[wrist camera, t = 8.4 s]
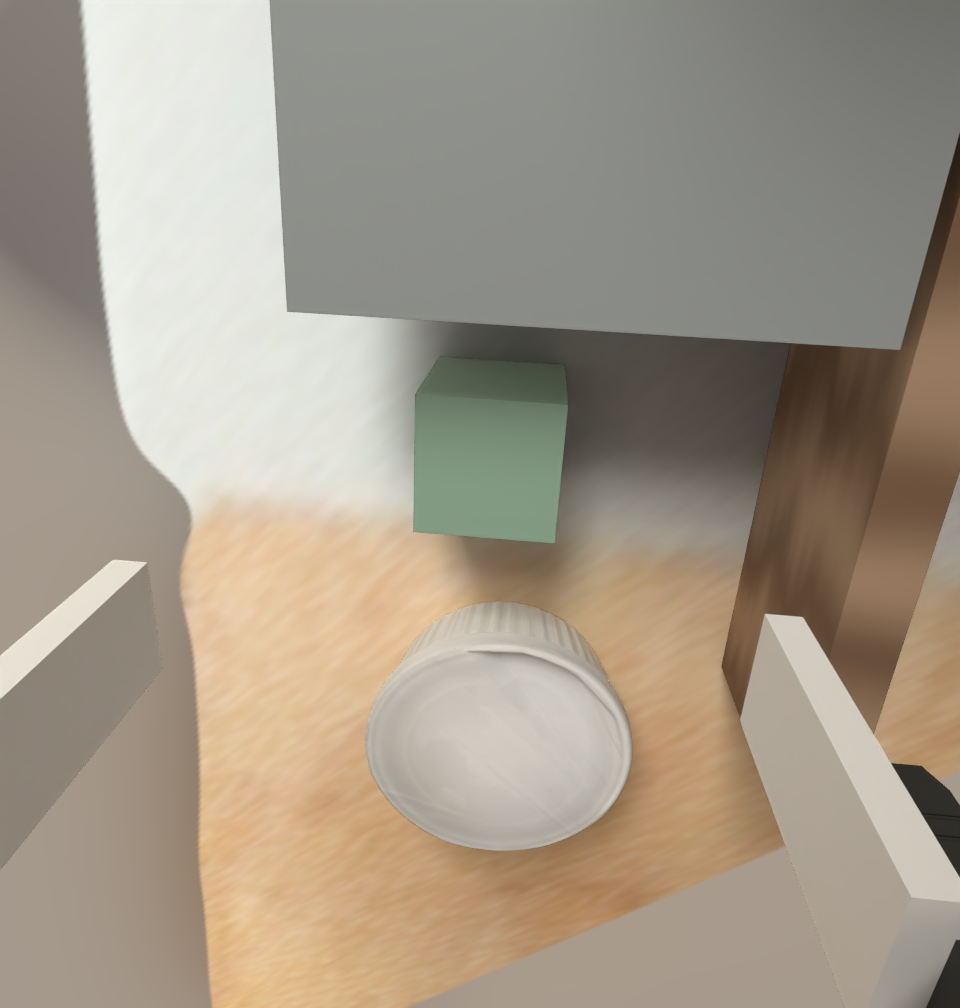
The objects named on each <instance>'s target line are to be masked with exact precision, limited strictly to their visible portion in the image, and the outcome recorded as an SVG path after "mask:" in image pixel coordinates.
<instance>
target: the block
mask: <svg viewBox="0 0 960 1008" xmlns="http://www.w3.org/2000/svg"><path fill="white" fill-rule="evenodd" d="M567 413H568V397H567V386H566V374H565V365H561V364H546V363H531V362H516V361H501V360H486V359H471V358H456V357H441V356H440V357H439V359H438V360H437V362H436V363H435V365H434V366H433V368H432V369H431V371H430V372H429V374H428V376H427V377H426V379H425V380H424V382H423V383H422V385H421V386H420V388H419V389H418V391H417V392H416V394H415V450H414V524H413V532H420V533H432V534H445V535H457V536H469V537H482V538H494V539H506V540H519V541H531V542H543V543H555V534H556V524H557V514H558V504H559V494H560V483H561V473H562V463H563V453H564V443H565V433H566V423H567Z"/></svg>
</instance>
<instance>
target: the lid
mask: <svg viewBox="0 0 960 1008" xmlns="http://www.w3.org/2000/svg"><path fill="white" fill-rule="evenodd" d="M270 16H271V34H272V51H273V69H274V87H275V105H276V122H277V140H278V158H279V175H280V193H281V211H282V228H283V246H284V264H285V281H286V299H287V312H301V313H317V314H333V315H349V316H365V317H381V318H397V319H413V320H429V321H445V322H461V323H477V324H493V325H509V326H525V327H541V328H557V329H573V330H589V331H605V332H621V333H637V334H653V335H669V336H685V337H701V338H717V339H733V340H749V341H765V342H781V343H797V344H813V345H829V346H845V347H861V348H877V349H893V350H900V349H901V345H902V341H903V338H904V334H905V330H906V327H907V323H908V319H909V316H910V312H911V308H912V305H913V301H914V297H915V294H916V290H917V287H918V283H919V279H920V276H921V272H922V268H923V265H924V261H925V257H926V254H927V250H928V246H929V243H930V239H931V235H932V232H933V228H934V225H935V221H936V217H937V214H938V210H939V206H940V203H941V199H942V195H943V192H944V188H945V184H946V181H947V177H948V173H949V170H950V166H951V162H952V159H953V155H954V152H955V148H956V144H957V141H958V137H959V133H960V0H270Z"/></svg>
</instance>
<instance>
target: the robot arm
mask: <svg viewBox="0 0 960 1008" xmlns="http://www.w3.org/2000/svg"><path fill="white" fill-rule="evenodd" d="M162 669H163V666H162V658H161V651H160V645H159V638H158V631H157V625H156V618H155V612H154V604H153V598H152V590H151V584H150V577H149V571H148V563H146V562H135V561H122V560H112V561H111V562H110V563H109V564H107V565H106V566H105V567H104V568H103V569H102V570H100V571H99V572H98V573H97V574H96V575H95V576H93V577H92V578H91V579H90V580H89V581H87V582H86V583H85V584H84V585H83V586H82V587H80V588H79V589H78V590H77V591H76V592H75V593H73V594H72V595H71V596H70V597H69V598H67V599H66V600H65V601H64V602H63V603H62V604H61V605H59V606H58V607H57V608H56V609H54V610H53V611H52V612H51V613H50V614H49V615H47V616H46V617H45V618H44V619H43V620H42V621H40V622H39V623H38V624H37V625H36V626H35V627H33V628H32V629H31V630H30V631H29V632H27V633H26V634H25V635H24V636H23V637H21V638H20V639H19V640H18V641H17V642H16V643H14V644H13V645H12V646H11V647H10V648H9V649H7V650H6V651H5V652H4V653H3V654H2V655H0V870H1V869H2V868H3V866H4V865H5V864H6V863H7V861H8V860H9V859H10V857H11V856H12V855H13V854H14V853H15V851H16V850H17V849H18V848H19V847H20V845H21V844H22V843H23V842H24V840H25V839H26V838H27V836H28V835H29V834H30V833H31V832H32V830H33V829H34V828H35V827H36V825H37V824H38V823H39V822H40V820H41V819H42V818H43V817H44V815H45V814H46V813H47V812H48V810H49V809H50V808H51V806H52V805H53V804H54V803H55V802H56V801H57V799H58V798H59V797H60V796H61V794H62V793H63V792H64V791H65V789H66V788H67V787H68V786H69V784H70V783H71V782H72V781H73V779H74V778H75V777H76V776H77V774H78V773H79V772H80V771H81V769H82V768H83V767H84V766H85V765H86V763H87V762H88V761H89V760H90V758H91V757H92V756H93V755H94V753H95V752H96V751H97V749H98V748H99V747H100V746H101V745H102V743H103V742H104V741H105V740H106V738H107V737H108V736H109V735H110V734H111V732H112V731H113V730H114V729H115V727H116V726H117V725H118V723H119V722H120V721H121V720H122V718H123V717H124V716H125V715H126V714H127V712H128V711H129V710H130V709H131V707H132V706H133V705H134V704H135V702H136V701H137V700H138V699H139V697H140V696H141V695H142V694H143V692H144V691H145V690H146V689H147V688H148V686H149V685H150V684H151V683H152V681H153V680H154V679H155V678H156V676H157V675H158V674H159V673H160V671H161V670H162ZM740 723H741V725H742V728H743V731H744V734H745V736H746V739H747V742H748V745H749V747H750V750H751V753H752V756H753V758H754V761H755V764H756V767H757V769H758V772H759V775H760V778H761V780H762V783H763V786H764V788H765V791H766V794H767V797H768V799H769V802H770V805H771V808H772V810H773V813H774V816H775V819H776V821H777V824H778V827H779V830H780V832H781V835H782V838H783V841H784V843H785V846H786V849H787V852H788V854H789V857H790V860H791V862H792V865H793V868H794V871H795V873H796V876H797V879H798V882H799V884H800V887H801V890H802V892H803V895H804V898H805V901H806V903H807V906H808V909H809V912H810V914H811V917H812V920H813V922H814V925H815V928H816V931H817V934H818V936H819V939H820V942H821V945H822V947H823V950H824V953H825V956H826V958H827V961H828V964H829V966H830V969H831V972H832V975H833V977H834V980H835V983H836V985H837V988H838V991H839V994H840V997H841V999H842V1002H843V1005H844V1008H960V805H959V804H958V802H957V801H956V799H955V798H954V796H953V795H952V793H951V792H950V790H948V789H947V788H946V787H945V786H944V785H943V784H942V783H940V782H939V781H938V780H937V779H936V778H935V777H933V776H932V775H931V774H930V773H929V772H928V771H926V770H925V769H924V768H923V767H922V766H915V765H905V764H894V763H890V761H889V759H888V758H887V756H886V754H885V753H884V751H883V749H882V748H881V746H880V744H879V743H878V741H877V739H876V738H875V736H874V734H873V733H872V731H871V729H870V728H869V726H868V724H867V723H866V721H865V719H864V718H863V716H862V714H861V713H860V711H859V710H858V708H857V706H856V705H855V703H854V701H853V700H852V698H851V696H850V695H849V693H848V691H847V690H846V688H845V686H844V685H843V683H842V681H841V680H840V678H839V676H838V675H837V673H836V671H835V670H834V668H833V666H832V665H831V663H830V661H829V660H828V658H827V656H826V655H825V653H824V651H823V650H822V648H821V646H820V645H819V643H818V641H817V640H816V638H815V636H814V635H813V633H812V631H811V630H810V628H809V626H808V625H807V623H806V622H805V620H804V618H803V617H797V616H785V615H773V614H765V615H764V619H763V624H762V628H761V632H760V637H759V641H758V645H757V650H756V654H755V658H754V663H753V667H752V671H751V675H750V680H749V684H748V688H747V693H746V697H745V701H744V706H743V710H742V714H741V718H740Z"/></svg>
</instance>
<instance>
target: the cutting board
mask: <svg viewBox="0 0 960 1008" xmlns="http://www.w3.org/2000/svg"><path fill="white" fill-rule="evenodd" d="M959 472H960V133H959V137H958V141H957V144H956V148H955V152H954V155H953V159H952V162H951V166H950V170H949V173H948V177H947V181H946V184H945V188H944V192H943V195H942V199H941V203H940V206H939V210H938V214H937V217H936V221H935V225H934V228H933V232H932V235H931V239H930V243H929V246H928V250H927V254H926V257H925V261H924V265H923V268H922V272H921V276H920V279H919V283H918V287H917V290H916V294H915V297H914V301H913V305H912V308H911V312H910V316H909V319H908V323H907V327H906V330H905V334H904V338H903V341H902V345H901V349H900V350H893V349H877V348H861V347H845V346H829V345H813V344H797V343H791V344H790V349H789V354H788V358H787V363H786V368H785V372H784V377H783V382H782V386H781V391H780V396H779V400H778V405H777V410H776V414H775V419H774V424H773V428H772V433H771V438H770V443H769V447H768V452H767V457H766V461H765V466H764V471H763V475H762V480H761V485H760V489H759V494H758V499H757V503H756V508H755V513H754V517H753V522H752V527H751V531H750V536H749V541H748V545H747V550H746V555H745V559H744V564H743V569H742V573H741V578H740V583H739V587H738V592H737V597H736V601H735V606H734V611H733V615H732V620H731V625H730V629H729V634H728V639H727V643H726V648H725V653H724V657H723V662H722V668H723V671H724V674H725V677H726V680H727V682H728V685H729V688H730V691H731V693H732V696H733V699H734V702H735V705H736V707H737V710H738V713H739V716H740V718H741V714H742V710H743V706H744V701H745V697H746V693H747V688H748V684H749V680H750V675H751V671H752V667H753V663H754V658H755V654H756V650H757V645H758V641H759V637H760V632H761V628H762V624H763V619H764V615H765V614H773V615H785V616H797V617H803V618H804V620H805V622H806V623H807V625H808V626H809V628H810V630H811V631H812V633H813V635H814V636H815V638H816V640H817V641H818V643H819V645H820V646H821V648H822V650H823V651H824V653H825V655H826V656H827V658H828V660H829V661H830V663H831V665H832V666H833V668H834V670H835V671H836V673H837V675H838V676H839V678H840V680H841V681H842V683H843V685H844V686H845V688H846V690H847V691H848V693H849V695H850V696H851V698H852V700H853V701H854V703H855V705H856V706H857V708H858V710H859V711H860V713H861V714H862V716H863V718H864V719H865V721H866V723H867V724H868V726H869V728H870V729H871V731H872V733H873V734H874V731H875V728H876V725H877V722H878V719H879V716H880V713H881V710H882V707H883V704H884V701H885V698H886V695H887V692H888V689H889V686H890V683H891V680H892V676H893V673H894V670H895V667H896V664H897V661H898V658H899V655H900V652H901V649H902V646H903V643H904V640H905V637H906V634H907V631H908V628H909V625H910V622H911V619H912V615H913V612H914V609H915V606H916V603H917V600H918V597H919V594H920V591H921V588H922V585H923V582H924V579H925V576H926V573H927V570H928V567H929V564H930V561H931V558H932V554H933V551H934V548H935V545H936V542H937V539H938V536H939V533H940V530H941V527H942V524H943V521H944V518H945V515H946V512H947V509H948V506H949V503H950V500H951V497H952V493H953V490H954V487H955V484H956V481H957V478H958V475H959Z"/></svg>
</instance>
